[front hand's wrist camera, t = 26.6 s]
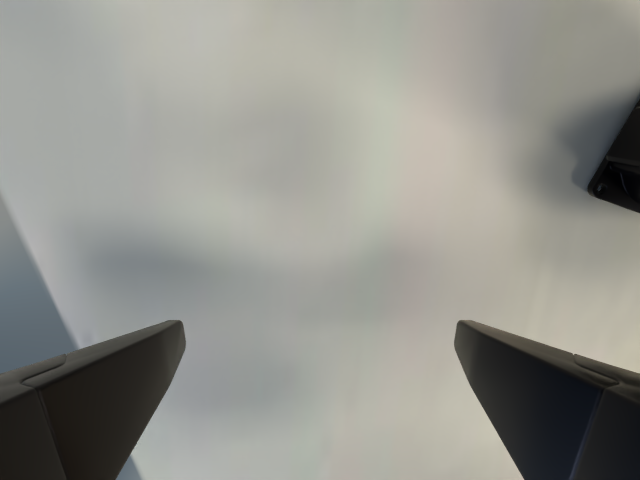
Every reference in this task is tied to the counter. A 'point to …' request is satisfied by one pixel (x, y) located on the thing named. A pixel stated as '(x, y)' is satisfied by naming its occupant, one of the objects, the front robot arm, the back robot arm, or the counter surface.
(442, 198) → the counter surface
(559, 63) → the counter surface
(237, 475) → the counter surface
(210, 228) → the counter surface
